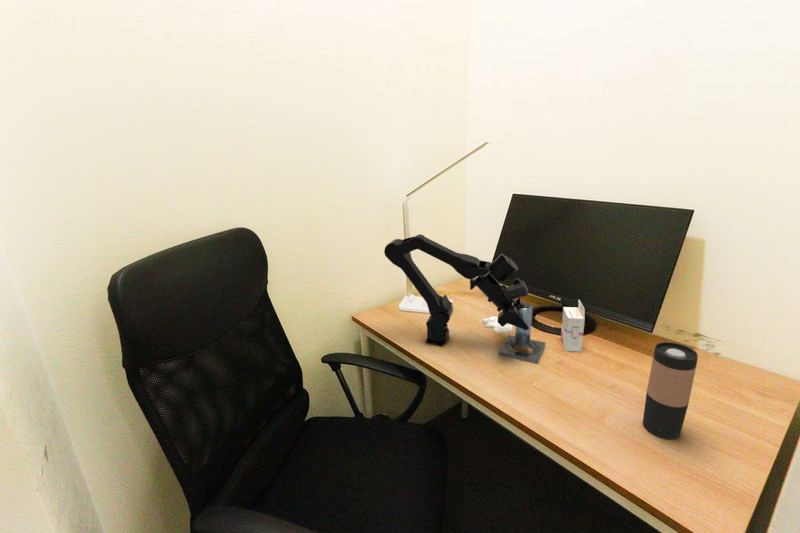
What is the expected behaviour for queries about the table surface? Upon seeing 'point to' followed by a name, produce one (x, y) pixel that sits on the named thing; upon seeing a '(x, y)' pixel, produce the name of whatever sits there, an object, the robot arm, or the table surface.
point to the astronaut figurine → (497, 325)
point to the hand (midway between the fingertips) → (527, 325)
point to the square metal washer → (529, 357)
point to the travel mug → (669, 389)
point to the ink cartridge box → (573, 327)
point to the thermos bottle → (520, 334)
